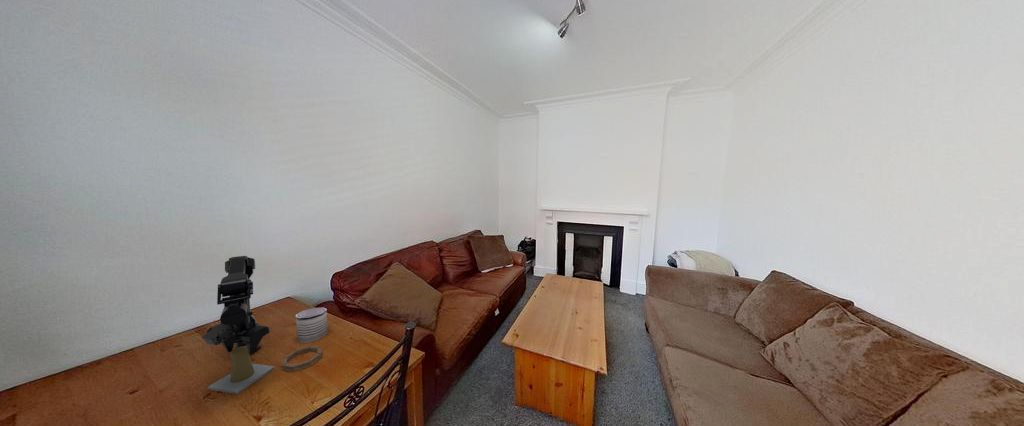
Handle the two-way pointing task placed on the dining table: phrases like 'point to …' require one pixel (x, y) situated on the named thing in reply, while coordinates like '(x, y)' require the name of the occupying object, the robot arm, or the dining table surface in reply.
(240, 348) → the cork
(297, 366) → the walnut holder
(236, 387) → the slate mat
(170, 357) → the dining table surface
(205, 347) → the dining table surface
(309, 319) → the can
